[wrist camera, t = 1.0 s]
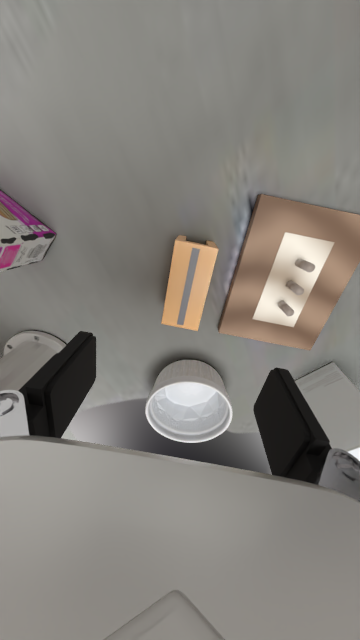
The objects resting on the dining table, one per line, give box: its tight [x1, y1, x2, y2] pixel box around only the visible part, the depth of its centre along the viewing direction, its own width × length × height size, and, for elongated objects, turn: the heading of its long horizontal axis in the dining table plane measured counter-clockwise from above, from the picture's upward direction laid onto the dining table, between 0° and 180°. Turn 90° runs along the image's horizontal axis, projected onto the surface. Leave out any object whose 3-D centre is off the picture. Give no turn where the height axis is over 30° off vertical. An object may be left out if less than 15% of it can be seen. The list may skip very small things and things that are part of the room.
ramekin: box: [145, 360, 232, 443], centre depth 35 cm, size 13×13×7 cm
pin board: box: [218, 194, 360, 350], centre depth 27 cm, size 18×14×4 cm
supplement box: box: [295, 362, 360, 461], centre depth 31 cm, size 7×7×13 cm
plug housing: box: [161, 235, 218, 331], centre depth 27 cm, size 10×5×6 cm, turn 170°
